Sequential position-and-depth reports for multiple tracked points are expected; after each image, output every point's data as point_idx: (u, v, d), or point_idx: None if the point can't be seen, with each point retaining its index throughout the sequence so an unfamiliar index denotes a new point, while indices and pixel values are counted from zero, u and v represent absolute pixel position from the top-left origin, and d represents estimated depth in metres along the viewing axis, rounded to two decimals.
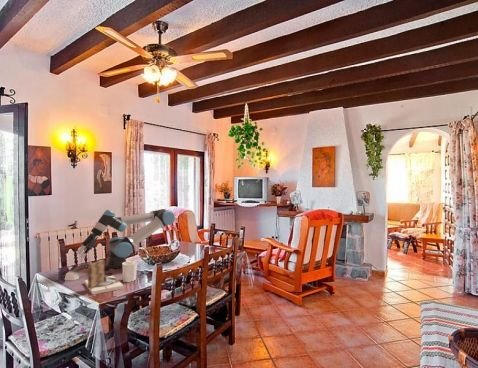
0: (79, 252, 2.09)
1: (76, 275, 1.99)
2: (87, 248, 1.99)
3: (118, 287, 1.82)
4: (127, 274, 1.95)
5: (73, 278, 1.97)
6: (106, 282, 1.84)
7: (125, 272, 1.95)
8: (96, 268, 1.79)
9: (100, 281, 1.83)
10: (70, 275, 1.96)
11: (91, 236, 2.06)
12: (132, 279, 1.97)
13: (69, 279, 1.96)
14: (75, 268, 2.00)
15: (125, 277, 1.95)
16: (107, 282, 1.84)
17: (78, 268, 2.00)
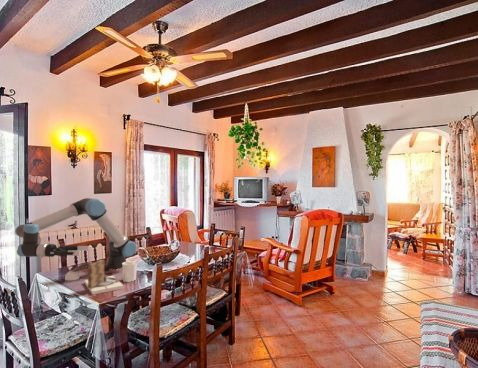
0: (86, 248, 1.85)
1: (76, 275, 1.99)
2: (66, 254, 1.69)
3: (118, 287, 1.82)
4: (127, 274, 1.95)
5: (73, 278, 1.97)
6: (106, 282, 1.84)
7: (125, 272, 1.95)
8: (96, 268, 1.79)
9: (100, 281, 1.83)
10: (70, 275, 1.97)
11: None
12: (132, 279, 1.97)
13: (69, 279, 1.96)
14: (75, 268, 2.00)
15: (125, 277, 1.95)
16: (107, 282, 1.84)
17: (78, 268, 2.00)
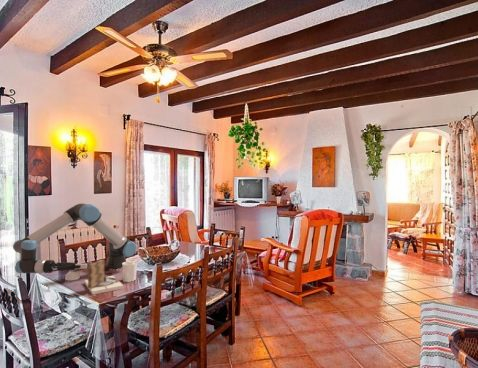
0: None
1: (77, 275, 1.99)
2: (74, 268, 1.76)
3: (118, 287, 1.82)
4: (127, 274, 1.95)
5: (74, 278, 1.97)
6: (106, 282, 1.84)
7: (125, 272, 1.95)
8: (96, 268, 1.79)
9: (100, 281, 1.83)
10: (71, 275, 1.97)
11: None
12: (132, 279, 1.97)
13: (70, 279, 1.96)
14: None
15: (125, 277, 1.95)
16: (107, 282, 1.84)
17: None
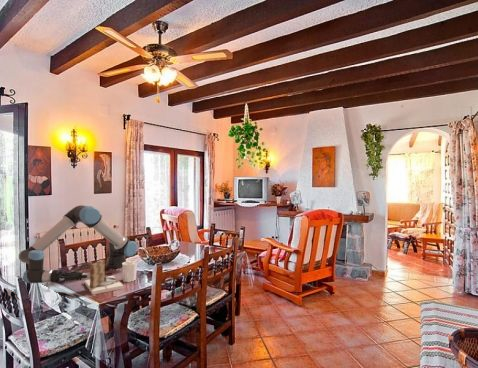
0: None
1: None
2: None
3: (118, 287, 1.82)
4: (127, 274, 1.95)
5: None
6: (107, 282, 1.85)
7: (125, 272, 1.95)
8: (97, 268, 1.79)
9: (101, 281, 1.83)
10: None
11: None
12: (132, 279, 1.97)
13: None
14: (76, 268, 2.01)
15: (125, 277, 1.95)
16: (108, 282, 1.85)
17: (79, 268, 2.00)
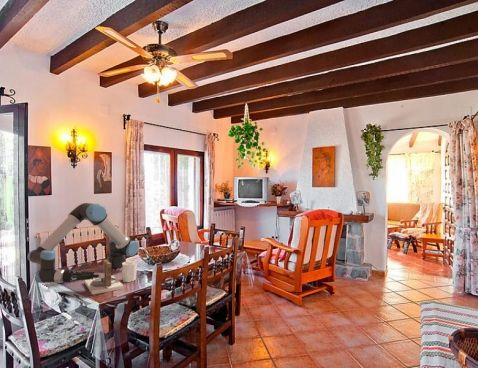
0: None
1: None
2: (92, 277, 1.78)
3: (118, 287, 1.82)
4: (127, 274, 1.95)
5: None
6: (110, 280, 1.88)
7: (125, 272, 1.95)
8: None
9: None
10: None
11: None
12: (132, 279, 1.97)
13: None
14: (76, 268, 2.01)
15: (125, 277, 1.95)
16: (111, 280, 1.88)
17: (79, 268, 2.00)
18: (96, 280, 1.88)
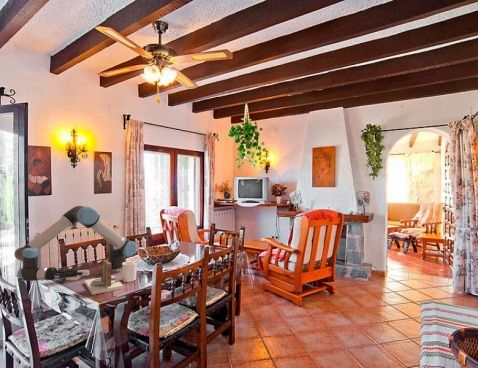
0: None
1: None
2: (76, 275, 1.76)
3: (118, 287, 1.82)
4: (127, 274, 1.95)
5: (74, 278, 1.97)
6: (110, 280, 1.88)
7: (125, 272, 1.95)
8: None
9: None
10: None
11: None
12: (132, 279, 1.97)
13: (70, 279, 1.96)
14: (76, 268, 2.01)
15: (125, 277, 1.95)
16: (111, 280, 1.89)
17: (79, 268, 2.00)
18: (96, 280, 1.88)
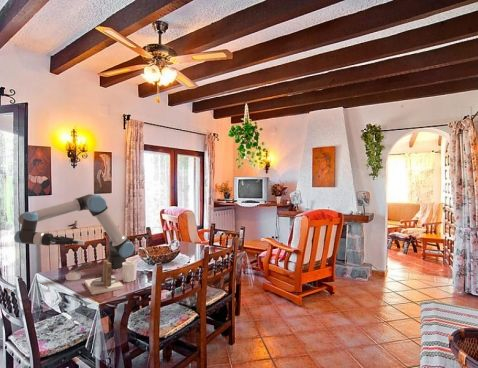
0: None
1: (78, 275, 1.99)
2: (71, 243, 1.82)
3: (118, 287, 1.82)
4: (127, 274, 1.95)
5: (74, 278, 1.97)
6: (110, 280, 1.88)
7: (125, 272, 1.95)
8: None
9: None
10: (72, 275, 1.97)
11: None
12: (132, 279, 1.97)
13: (71, 279, 1.96)
14: (77, 268, 2.01)
15: (125, 277, 1.95)
16: (111, 280, 1.89)
17: (80, 268, 2.00)
18: (96, 280, 1.88)
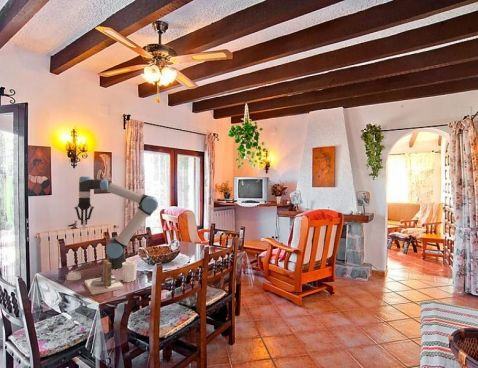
0: None
1: (78, 275, 1.99)
2: None
3: (118, 287, 1.82)
4: (127, 274, 1.95)
5: (75, 278, 1.97)
6: (110, 280, 1.88)
7: (125, 272, 1.95)
8: None
9: None
10: (72, 275, 1.97)
11: None
12: (132, 279, 1.97)
13: (71, 279, 1.96)
14: (77, 268, 2.01)
15: (125, 277, 1.95)
16: (111, 280, 1.89)
17: (80, 268, 2.00)
18: (96, 280, 1.88)
